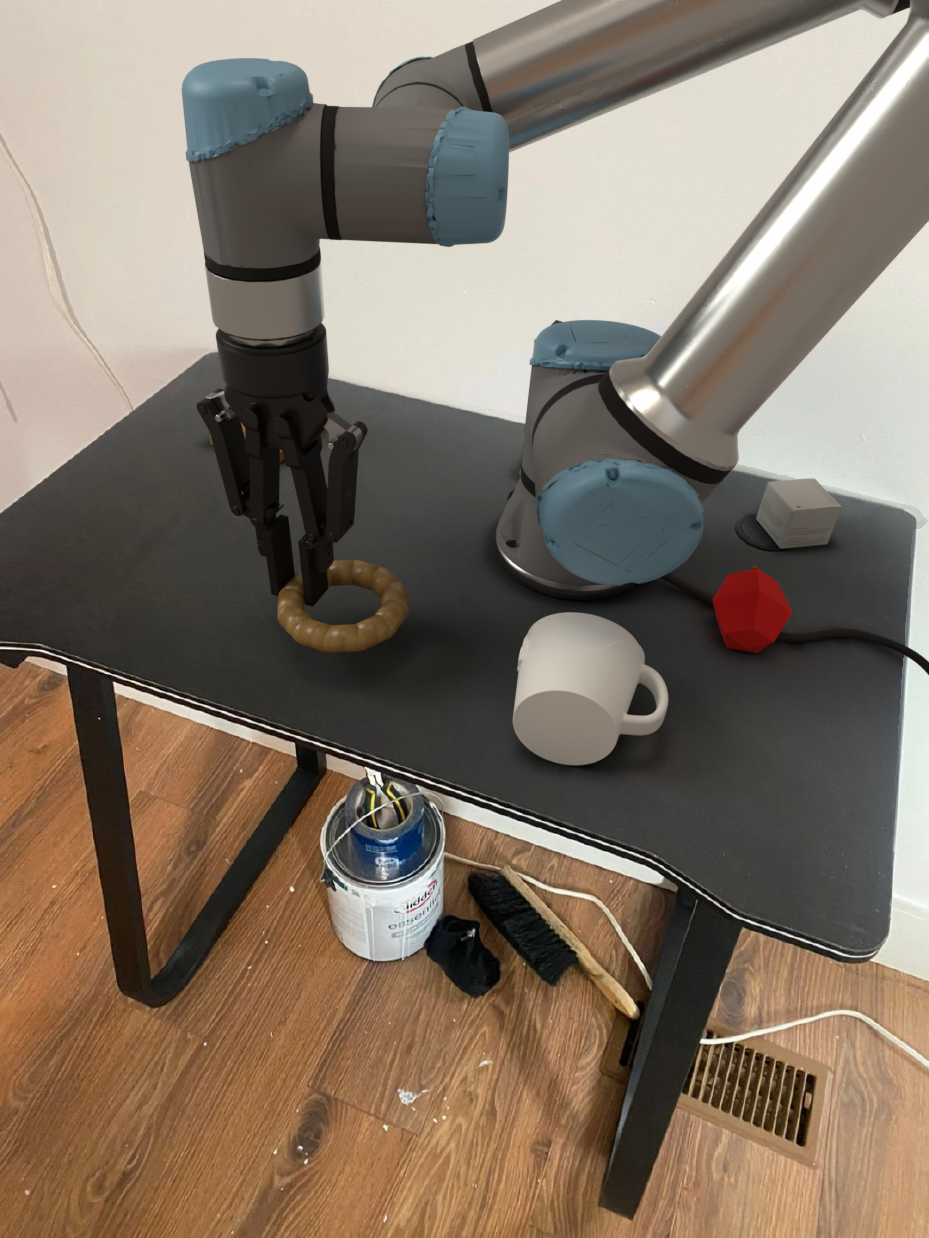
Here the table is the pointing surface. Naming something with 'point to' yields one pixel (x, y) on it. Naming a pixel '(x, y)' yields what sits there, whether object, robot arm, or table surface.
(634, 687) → the mug
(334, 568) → the ring
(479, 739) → the table surface
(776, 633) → the apple
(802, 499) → the small box
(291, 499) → the table surface
